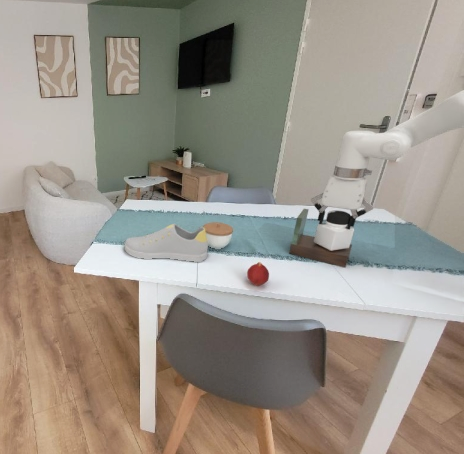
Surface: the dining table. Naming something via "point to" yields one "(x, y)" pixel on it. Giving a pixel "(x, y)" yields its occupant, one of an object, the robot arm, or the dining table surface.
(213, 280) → the dining table surface
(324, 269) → the dining table surface
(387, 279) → the dining table surface
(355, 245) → the dining table surface
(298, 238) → the brown hinged box
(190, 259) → the shoe
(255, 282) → the onion
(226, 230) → the trinket box
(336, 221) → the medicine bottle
